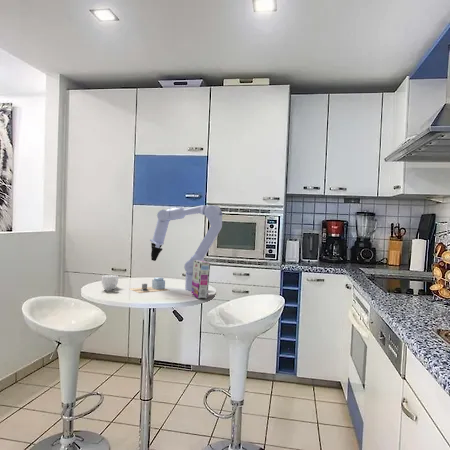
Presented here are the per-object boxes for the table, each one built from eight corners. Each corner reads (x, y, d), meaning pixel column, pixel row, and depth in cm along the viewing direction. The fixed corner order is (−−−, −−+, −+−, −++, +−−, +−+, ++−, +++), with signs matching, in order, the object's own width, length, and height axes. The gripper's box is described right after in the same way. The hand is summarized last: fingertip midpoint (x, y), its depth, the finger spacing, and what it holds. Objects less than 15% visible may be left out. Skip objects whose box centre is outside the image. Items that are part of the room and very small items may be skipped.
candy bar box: (208, 299, 177) (210, 262, 177) (197, 299, 175) (200, 262, 175) (200, 294, 188) (203, 260, 188) (190, 294, 186) (193, 259, 186)
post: (149, 290, 186) (149, 284, 186) (142, 291, 184) (142, 284, 184) (146, 289, 189) (146, 283, 189) (139, 290, 187) (139, 283, 187)
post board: (169, 292, 189) (170, 290, 189) (139, 295, 179) (139, 293, 179) (158, 288, 199) (158, 286, 199) (128, 290, 189) (128, 288, 189)
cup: (98, 290, 186) (98, 276, 186) (107, 287, 196) (107, 273, 196) (114, 291, 185) (114, 277, 185) (122, 288, 195) (122, 274, 195)
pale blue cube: (164, 288, 193) (165, 278, 193) (156, 289, 190) (156, 279, 190) (160, 287, 196) (160, 277, 196) (152, 287, 193) (152, 277, 193)
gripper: (152, 229, 204) (145, 254, 205) (152, 233, 190) (145, 260, 191) (165, 232, 205) (158, 257, 206) (166, 236, 191) (159, 263, 192)
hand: (153, 258), depth 199 cm, fingers open, 7 cm apart
